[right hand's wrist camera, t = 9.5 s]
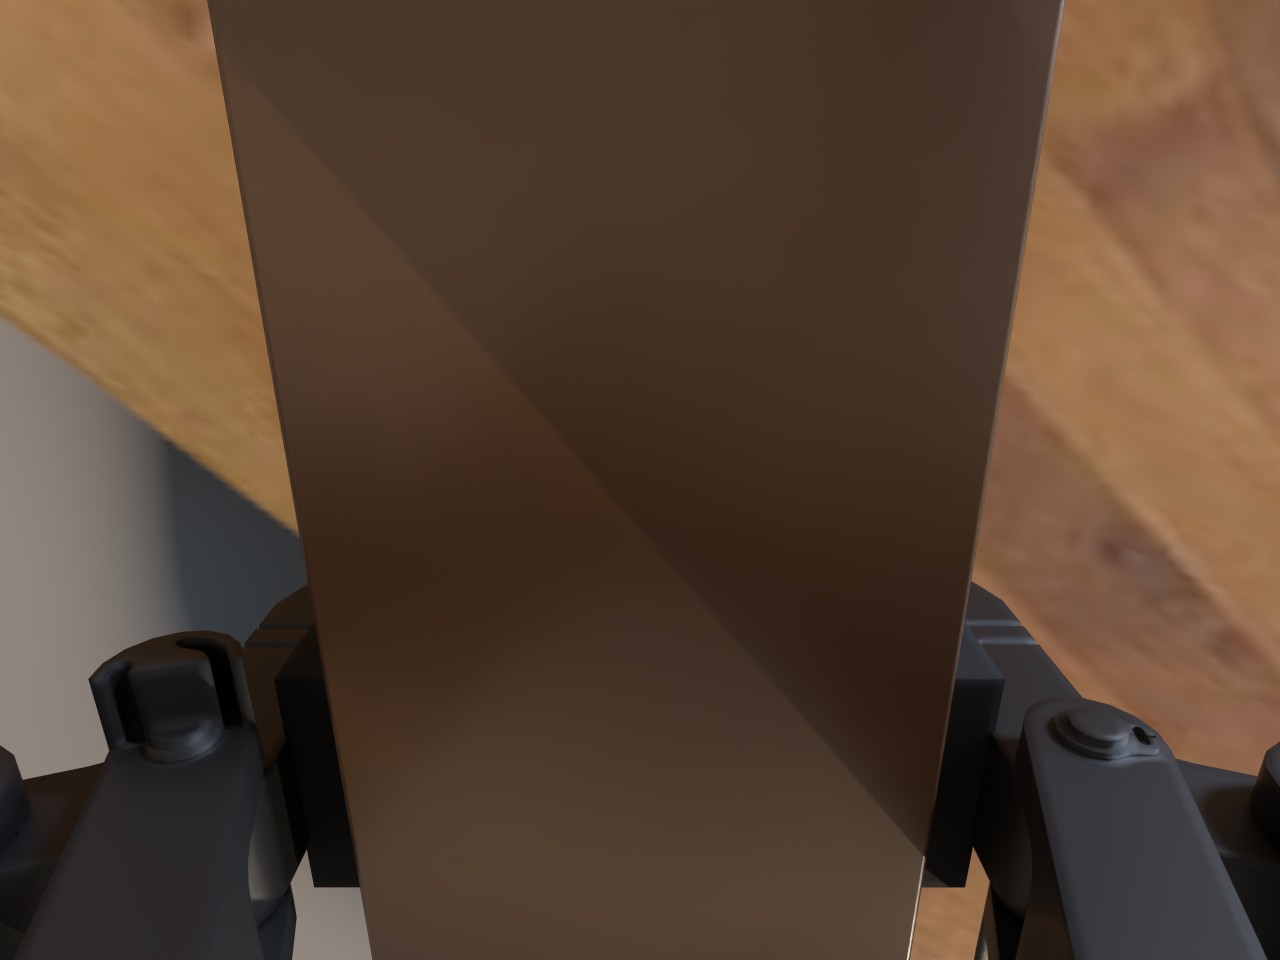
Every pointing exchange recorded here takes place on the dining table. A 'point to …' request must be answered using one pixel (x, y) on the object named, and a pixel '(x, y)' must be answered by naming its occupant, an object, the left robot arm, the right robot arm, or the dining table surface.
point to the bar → (638, 443)
